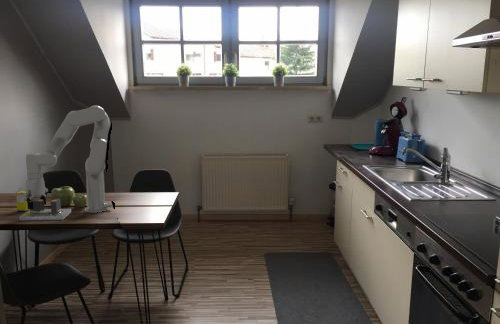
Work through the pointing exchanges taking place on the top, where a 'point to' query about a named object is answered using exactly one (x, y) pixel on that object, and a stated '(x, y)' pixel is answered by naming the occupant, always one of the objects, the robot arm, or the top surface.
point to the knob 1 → (37, 206)
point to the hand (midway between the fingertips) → (37, 206)
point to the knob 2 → (55, 206)
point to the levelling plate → (52, 216)
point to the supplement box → (21, 202)
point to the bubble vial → (44, 213)
